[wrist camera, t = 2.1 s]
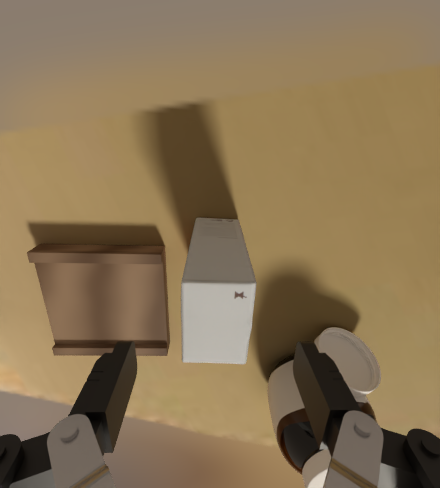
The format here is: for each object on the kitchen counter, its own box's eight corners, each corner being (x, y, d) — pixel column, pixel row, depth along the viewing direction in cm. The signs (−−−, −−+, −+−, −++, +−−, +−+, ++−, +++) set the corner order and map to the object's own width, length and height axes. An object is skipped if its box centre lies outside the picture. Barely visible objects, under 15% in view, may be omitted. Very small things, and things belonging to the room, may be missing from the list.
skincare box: (194, 216, 25) (180, 278, 14) (239, 218, 25) (259, 281, 14) (193, 272, 27) (180, 365, 16) (234, 274, 28) (249, 366, 16)
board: (164, 246, 26) (161, 254, 24) (169, 341, 31) (166, 355, 29) (40, 243, 26) (26, 252, 24) (64, 341, 30) (54, 355, 28)
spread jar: (266, 400, 35) (290, 518, 24) (257, 331, 30) (281, 438, 20) (358, 387, 34) (425, 502, 23) (361, 316, 30) (445, 417, 19)
